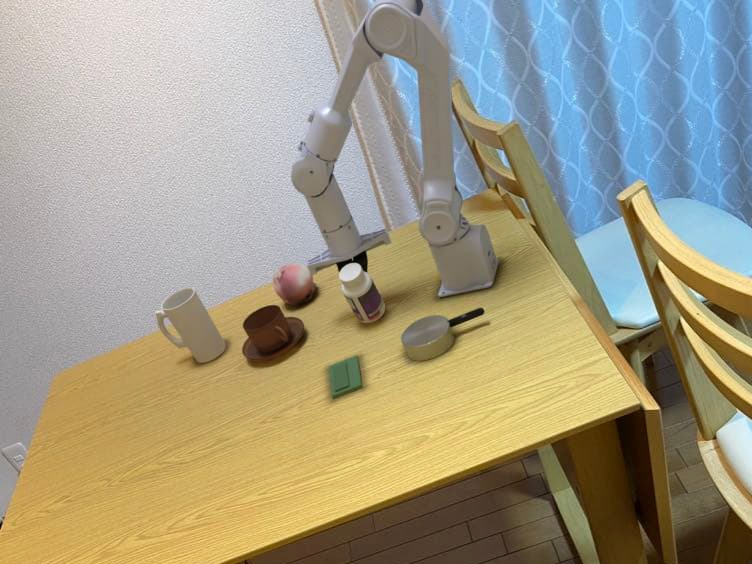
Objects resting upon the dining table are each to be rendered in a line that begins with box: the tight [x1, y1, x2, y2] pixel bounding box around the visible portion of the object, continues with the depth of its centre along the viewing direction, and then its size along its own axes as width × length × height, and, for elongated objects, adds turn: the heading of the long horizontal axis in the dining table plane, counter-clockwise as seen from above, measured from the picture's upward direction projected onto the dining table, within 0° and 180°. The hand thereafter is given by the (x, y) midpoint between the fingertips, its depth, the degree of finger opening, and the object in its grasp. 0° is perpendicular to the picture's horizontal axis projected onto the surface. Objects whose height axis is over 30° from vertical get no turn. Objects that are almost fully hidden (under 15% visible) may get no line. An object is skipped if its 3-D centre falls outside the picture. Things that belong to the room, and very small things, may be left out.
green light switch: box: [328, 354, 363, 400], centre depth 137 cm, size 5×9×1 cm, turn 7°
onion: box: [272, 263, 318, 306], centre depth 160 cm, size 8×8×7 cm
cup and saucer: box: [241, 304, 305, 362], centre depth 151 cm, size 12×12×6 cm
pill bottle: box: [338, 263, 386, 324], centre depth 144 cm, size 5×5×10 cm
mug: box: [154, 286, 227, 364], centre depth 157 cm, size 10×7×12 cm, turn 84°
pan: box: [400, 307, 485, 362], centre depth 134 cm, size 14×8×3 cm, turn 97°
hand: (367, 294), depth 149 cm, fingers closed, pressing on pill bottle
